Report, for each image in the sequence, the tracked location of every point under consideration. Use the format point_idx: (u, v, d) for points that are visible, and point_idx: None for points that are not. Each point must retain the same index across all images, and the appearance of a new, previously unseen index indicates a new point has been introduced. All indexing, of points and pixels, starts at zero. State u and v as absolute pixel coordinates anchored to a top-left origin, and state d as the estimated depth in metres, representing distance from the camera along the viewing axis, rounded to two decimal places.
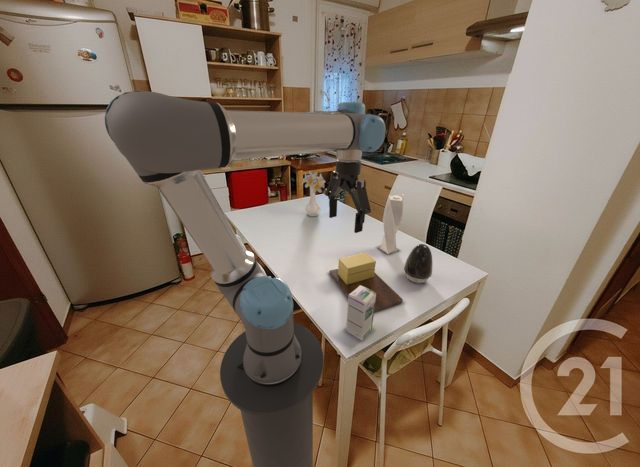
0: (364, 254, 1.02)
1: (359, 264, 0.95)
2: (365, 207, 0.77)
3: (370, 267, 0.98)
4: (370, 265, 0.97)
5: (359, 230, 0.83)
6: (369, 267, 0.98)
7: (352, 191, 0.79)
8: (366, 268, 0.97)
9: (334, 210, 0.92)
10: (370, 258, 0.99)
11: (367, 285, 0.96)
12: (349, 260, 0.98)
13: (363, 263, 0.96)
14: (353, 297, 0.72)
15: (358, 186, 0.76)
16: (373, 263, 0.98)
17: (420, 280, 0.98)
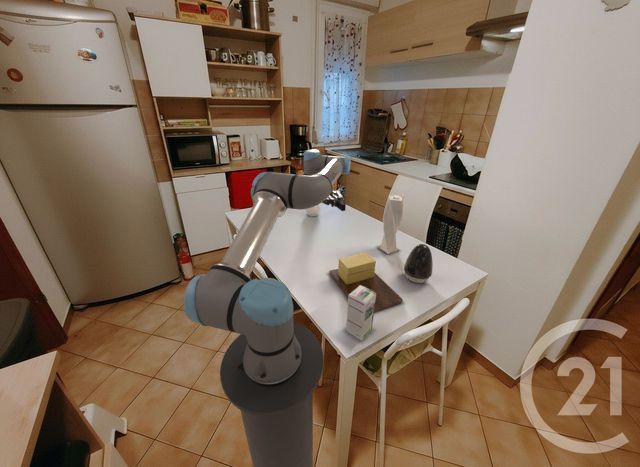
0: (364, 254, 1.02)
1: (359, 264, 0.95)
2: None
3: (370, 267, 0.98)
4: (370, 265, 0.97)
5: None
6: (369, 267, 0.98)
7: None
8: (366, 268, 0.97)
9: None
10: (370, 258, 0.99)
11: (367, 285, 0.96)
12: (349, 260, 0.98)
13: (363, 263, 0.96)
14: (353, 297, 0.72)
15: (338, 191, 1.16)
16: (373, 263, 0.98)
17: (420, 280, 0.98)
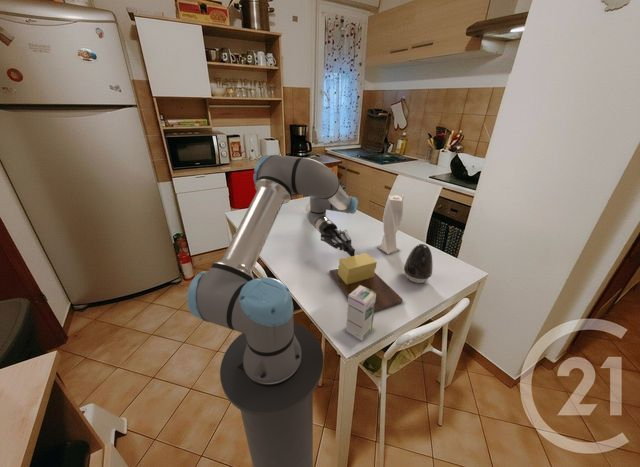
0: (365, 255, 1.01)
1: (360, 265, 0.95)
2: None
3: (371, 268, 0.97)
4: (371, 266, 0.97)
5: None
6: (370, 268, 0.97)
7: None
8: (367, 269, 0.97)
9: None
10: (371, 259, 0.99)
11: (367, 285, 0.96)
12: (350, 261, 0.97)
13: (364, 264, 0.96)
14: (353, 297, 0.72)
15: (345, 231, 1.14)
16: (374, 264, 0.97)
17: (420, 280, 0.98)
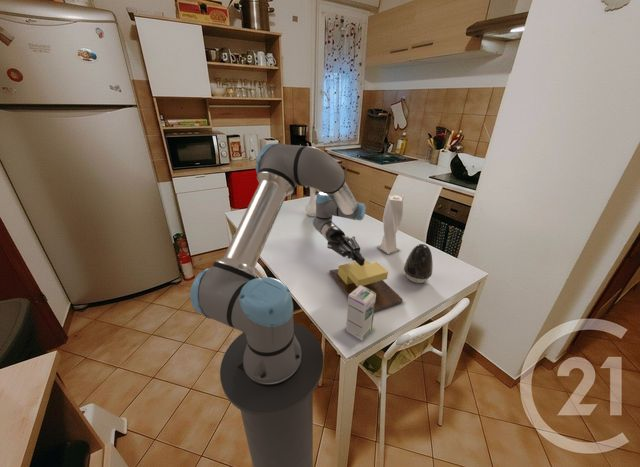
0: (375, 264, 0.96)
1: (371, 276, 0.89)
2: None
3: (382, 278, 0.92)
4: (382, 276, 0.92)
5: None
6: (381, 278, 0.92)
7: None
8: (378, 279, 0.91)
9: None
10: (382, 268, 0.93)
11: (367, 285, 0.96)
12: (360, 271, 0.92)
13: (374, 274, 0.90)
14: (353, 297, 0.72)
15: (353, 238, 1.09)
16: (385, 274, 0.92)
17: (420, 280, 0.98)
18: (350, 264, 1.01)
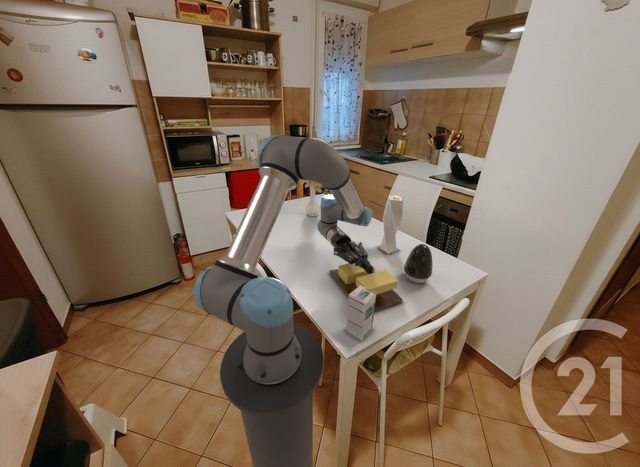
0: (384, 272, 0.91)
1: (380, 285, 0.85)
2: None
3: (392, 287, 0.88)
4: (392, 285, 0.87)
5: None
6: (390, 287, 0.87)
7: None
8: (387, 289, 0.87)
9: None
10: (391, 277, 0.89)
11: None
12: (368, 280, 0.87)
13: (384, 283, 0.86)
14: (353, 297, 0.72)
15: (360, 244, 1.04)
16: (395, 283, 0.87)
17: (420, 280, 0.98)
18: (350, 264, 1.01)
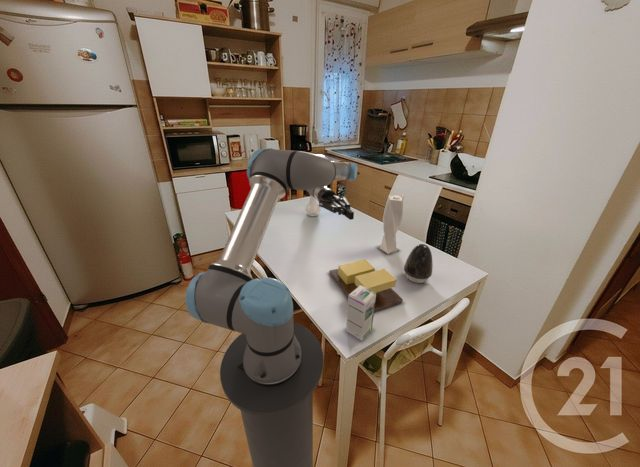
0: (383, 271, 0.92)
1: (379, 284, 0.86)
2: None
3: (390, 286, 0.88)
4: (390, 284, 0.88)
5: None
6: (389, 286, 0.88)
7: None
8: (386, 287, 0.88)
9: None
10: (390, 276, 0.89)
11: None
12: (367, 279, 0.88)
13: (383, 282, 0.86)
14: (353, 297, 0.72)
15: (345, 197, 1.10)
16: (394, 282, 0.88)
17: (420, 280, 0.98)
18: (350, 264, 1.01)
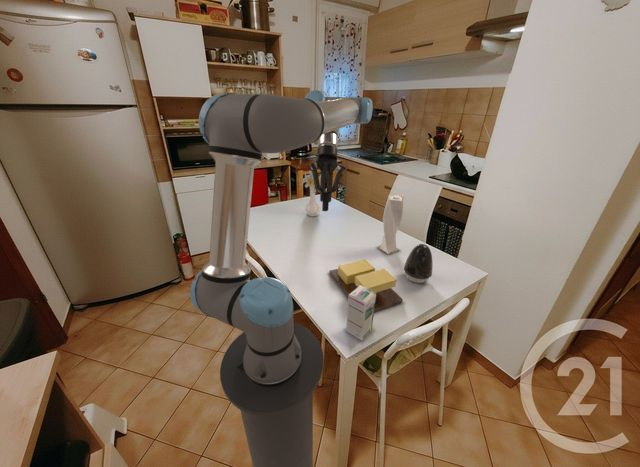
0: (383, 271, 0.92)
1: (379, 284, 0.86)
2: None
3: (390, 286, 0.88)
4: (390, 284, 0.88)
5: None
6: (389, 286, 0.88)
7: None
8: (386, 287, 0.88)
9: None
10: (390, 276, 0.89)
11: None
12: (367, 279, 0.88)
13: (383, 282, 0.86)
14: (353, 297, 0.72)
15: (341, 171, 0.97)
16: (394, 282, 0.88)
17: (420, 280, 0.98)
18: (350, 264, 1.01)
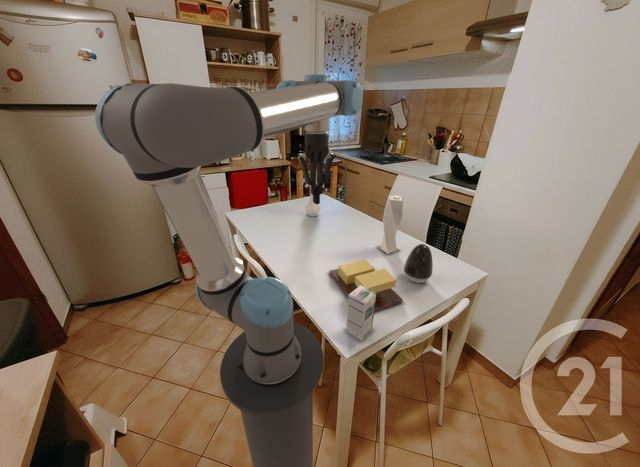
0: (383, 271, 0.92)
1: (379, 284, 0.86)
2: None
3: (390, 286, 0.88)
4: (390, 284, 0.88)
5: None
6: (389, 286, 0.88)
7: None
8: (386, 287, 0.88)
9: None
10: (390, 276, 0.89)
11: None
12: (367, 279, 0.88)
13: (383, 282, 0.86)
14: (353, 297, 0.72)
15: (332, 158, 0.87)
16: (394, 282, 0.88)
17: (420, 280, 0.98)
18: (350, 264, 1.01)
